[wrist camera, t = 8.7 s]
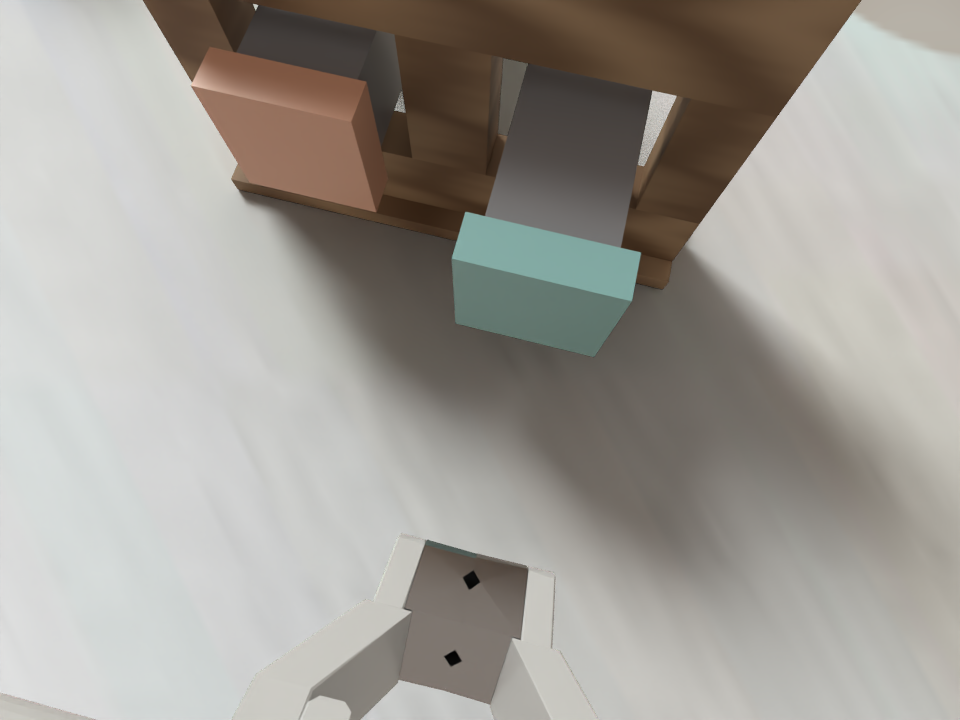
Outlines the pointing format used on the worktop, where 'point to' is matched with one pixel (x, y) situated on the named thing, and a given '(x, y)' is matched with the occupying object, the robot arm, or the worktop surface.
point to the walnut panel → (567, 47)
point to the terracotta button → (305, 105)
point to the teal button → (556, 216)
